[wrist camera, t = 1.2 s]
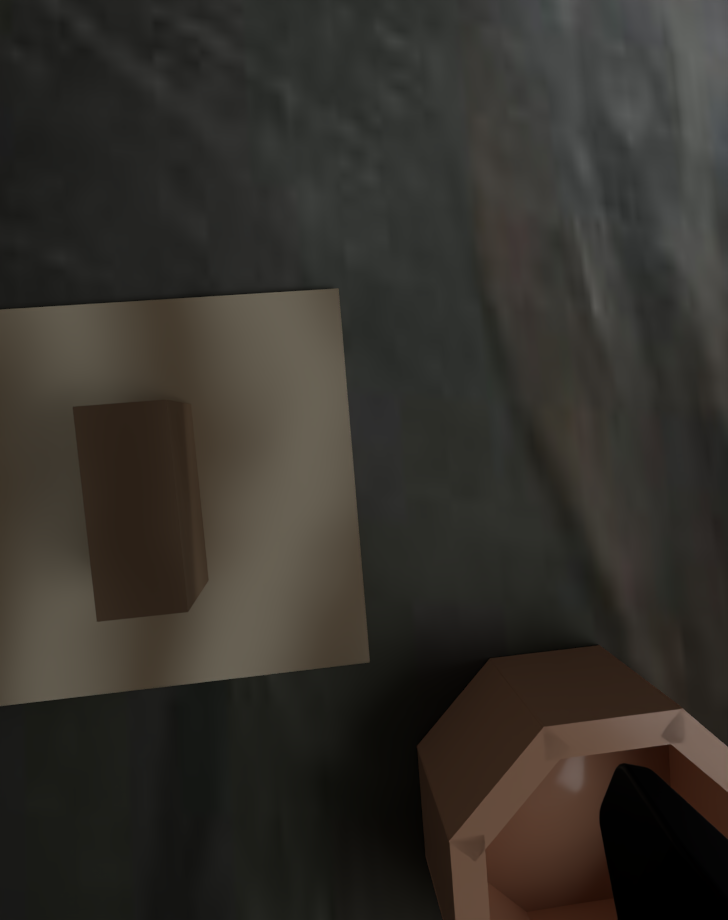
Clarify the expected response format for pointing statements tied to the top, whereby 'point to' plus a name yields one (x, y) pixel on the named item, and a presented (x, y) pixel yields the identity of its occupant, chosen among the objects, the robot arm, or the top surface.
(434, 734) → the terracotta bowl
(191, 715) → the top surface
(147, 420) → the birch lid
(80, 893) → the top surface
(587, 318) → the top surface
